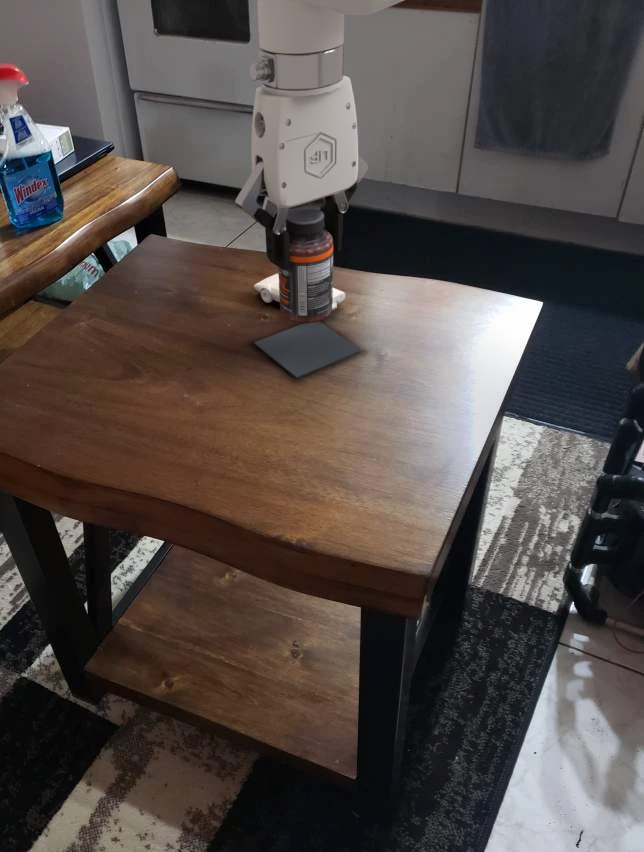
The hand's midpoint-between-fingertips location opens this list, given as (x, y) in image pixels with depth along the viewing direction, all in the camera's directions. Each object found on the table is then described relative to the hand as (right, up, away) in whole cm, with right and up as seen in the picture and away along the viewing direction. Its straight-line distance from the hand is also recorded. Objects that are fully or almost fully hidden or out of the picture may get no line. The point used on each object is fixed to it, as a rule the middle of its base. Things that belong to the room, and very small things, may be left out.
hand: (305, 254), depth 80 cm
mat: (+1, -8, +8) cm, 12 cm away
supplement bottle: (0, -5, +5) cm, 7 cm away
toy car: (0, -1, +16) cm, 16 cm away
